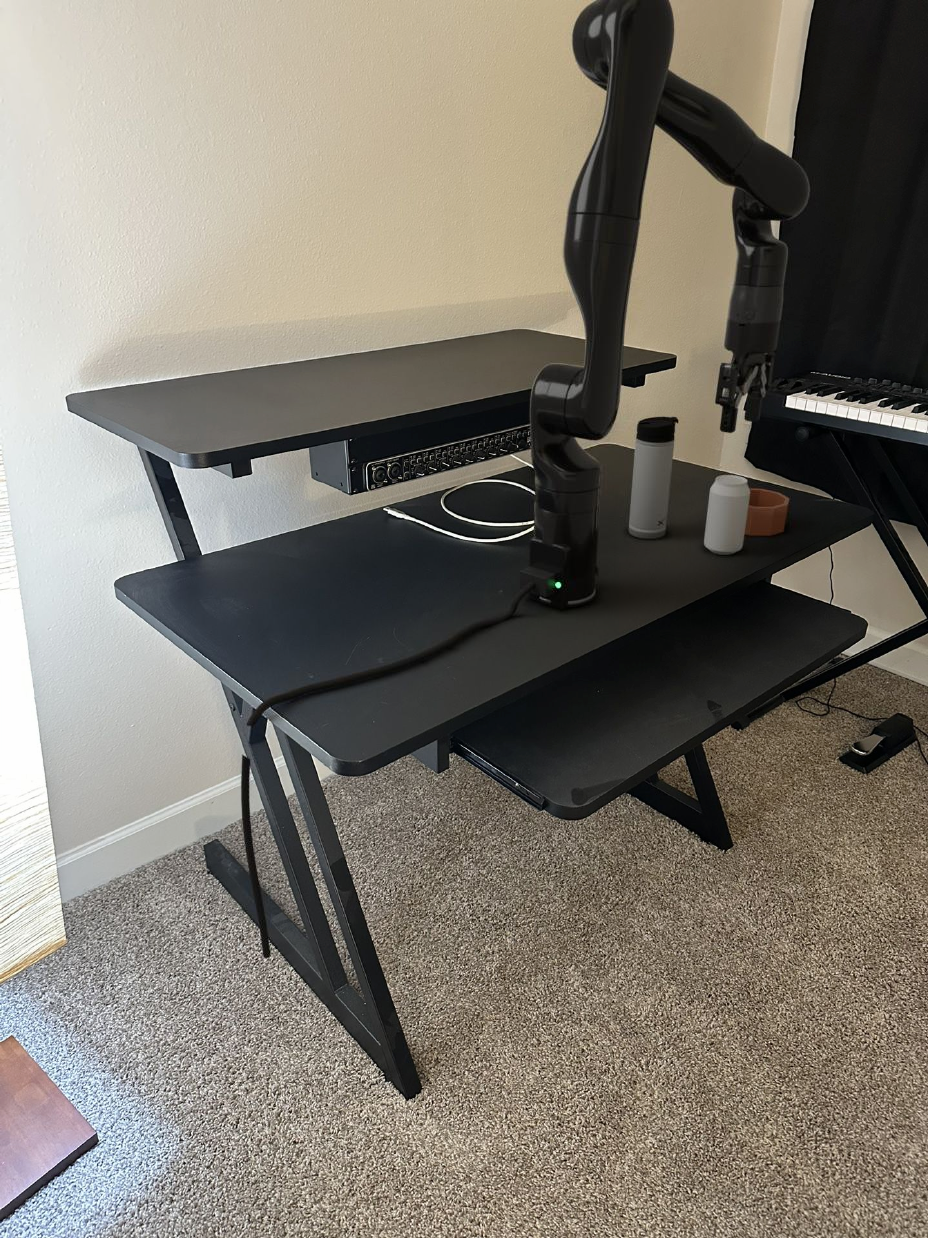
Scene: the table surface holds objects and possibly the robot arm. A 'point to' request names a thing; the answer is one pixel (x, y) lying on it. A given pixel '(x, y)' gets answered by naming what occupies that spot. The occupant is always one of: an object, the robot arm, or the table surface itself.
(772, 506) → the holder
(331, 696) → the table surface
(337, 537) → the table surface
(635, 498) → the travel mug
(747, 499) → the beverage can
